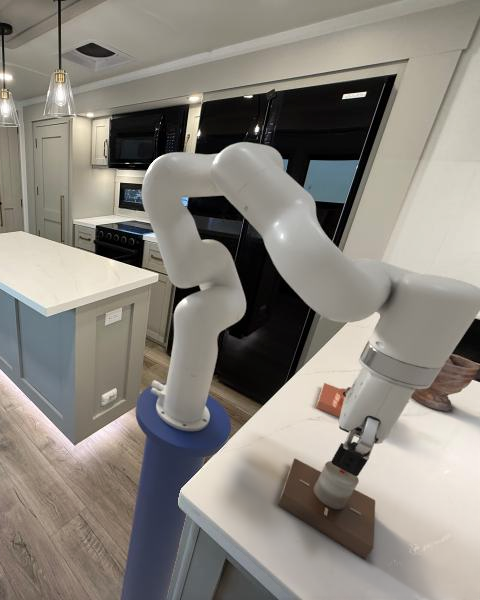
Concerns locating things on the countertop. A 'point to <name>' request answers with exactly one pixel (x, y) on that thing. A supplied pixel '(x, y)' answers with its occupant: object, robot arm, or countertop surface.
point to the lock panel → (330, 510)
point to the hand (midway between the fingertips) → (347, 449)
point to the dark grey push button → (347, 391)
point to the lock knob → (335, 486)
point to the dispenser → (331, 399)
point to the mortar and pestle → (447, 383)
